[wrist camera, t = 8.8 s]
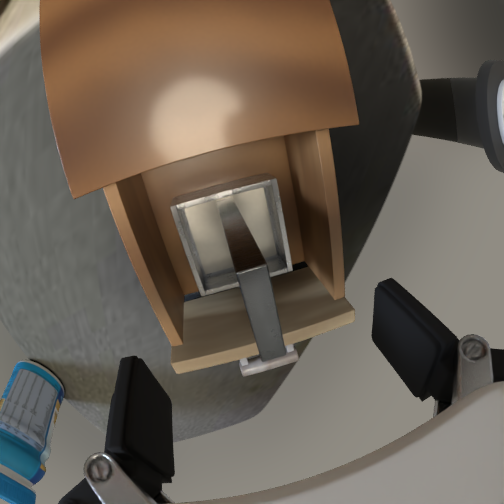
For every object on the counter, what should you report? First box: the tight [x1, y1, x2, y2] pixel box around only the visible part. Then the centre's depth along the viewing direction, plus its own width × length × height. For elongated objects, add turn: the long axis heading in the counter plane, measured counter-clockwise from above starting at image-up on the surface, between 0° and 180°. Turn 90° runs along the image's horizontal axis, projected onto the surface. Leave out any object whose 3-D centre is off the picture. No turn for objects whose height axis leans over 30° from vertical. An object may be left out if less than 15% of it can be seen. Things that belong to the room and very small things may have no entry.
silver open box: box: [170, 173, 293, 362], centre depth 16 cm, size 7×7×11 cm
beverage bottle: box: [0, 360, 64, 504], centre depth 17 cm, size 8×8×20 cm
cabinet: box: [40, 0, 359, 199], centre depth 12 cm, size 17×15×9 cm
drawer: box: [103, 129, 355, 376], centre depth 19 cm, size 20×13×7 cm, turn 13°
